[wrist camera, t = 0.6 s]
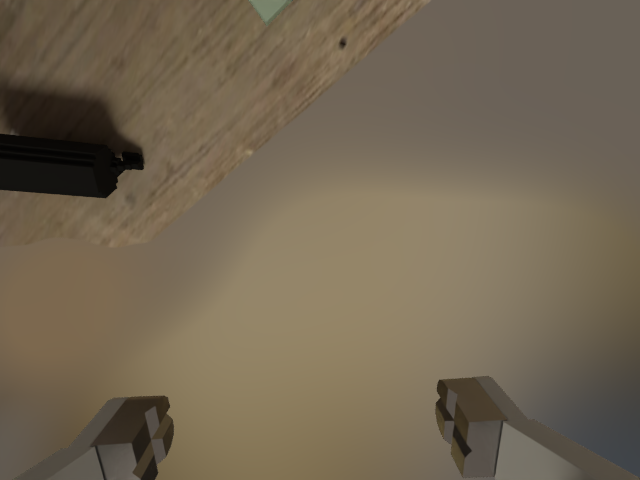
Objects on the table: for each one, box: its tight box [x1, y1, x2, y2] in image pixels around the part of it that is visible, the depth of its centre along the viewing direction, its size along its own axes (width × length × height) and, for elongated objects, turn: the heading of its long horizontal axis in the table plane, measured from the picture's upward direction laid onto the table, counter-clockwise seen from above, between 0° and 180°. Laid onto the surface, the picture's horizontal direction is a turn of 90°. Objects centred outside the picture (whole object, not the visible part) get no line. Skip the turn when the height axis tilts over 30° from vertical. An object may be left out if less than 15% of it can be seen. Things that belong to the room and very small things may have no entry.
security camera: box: [0, 134, 144, 198], centre depth 45 cm, size 7×18×10 cm, turn 81°
